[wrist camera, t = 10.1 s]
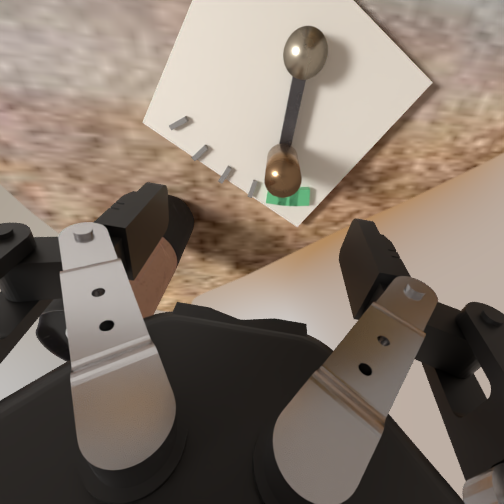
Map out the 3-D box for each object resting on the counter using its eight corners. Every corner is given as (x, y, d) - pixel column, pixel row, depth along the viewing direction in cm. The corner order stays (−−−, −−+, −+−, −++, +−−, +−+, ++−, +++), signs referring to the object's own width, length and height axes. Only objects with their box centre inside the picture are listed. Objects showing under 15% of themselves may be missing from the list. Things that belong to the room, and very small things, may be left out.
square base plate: (242, -107, 21) (239, -124, 19) (425, 81, 26) (436, 83, 25) (146, 124, 31) (137, 128, 29) (294, 224, 36) (295, 233, 35)
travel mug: (204, 236, 39) (150, 367, 22) (156, 246, 40) (73, 375, 24) (182, 185, 35) (97, 301, 18) (129, 199, 36) (8, 315, 20)
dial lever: (288, 24, 23) (291, 13, 18) (330, 31, 23) (346, 24, 18) (260, 180, 31) (256, 208, 26) (292, 185, 31) (295, 214, 26)
